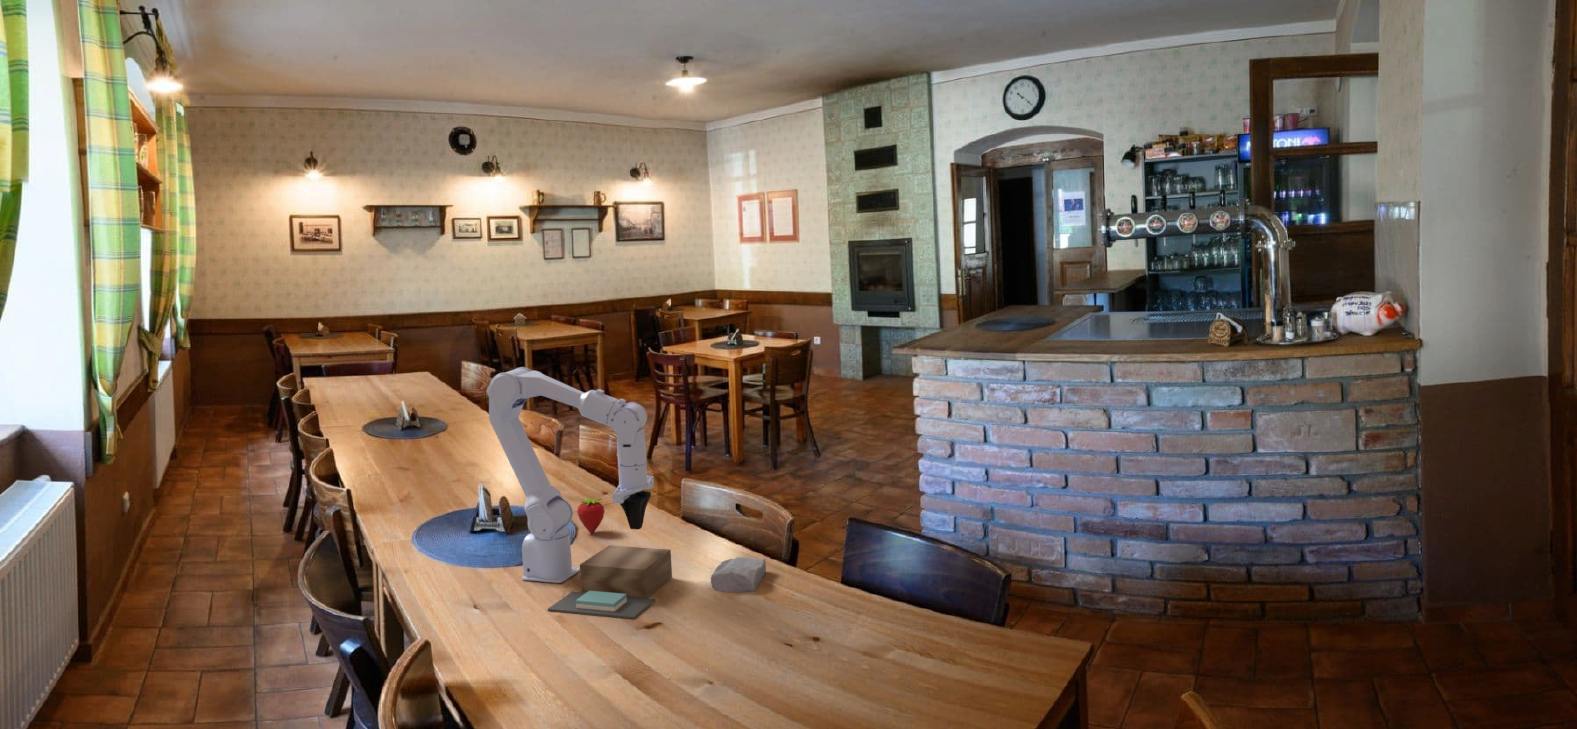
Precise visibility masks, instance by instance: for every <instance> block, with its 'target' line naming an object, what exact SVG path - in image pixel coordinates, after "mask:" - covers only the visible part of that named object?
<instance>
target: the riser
mask: <svg viewBox="0 0 1577 729" xmlns="http://www.w3.org/2000/svg"><path fill="white" fill-rule="evenodd" d="M671 550H672V549H666V548H651V547H639V546H638V547H637V546H625V545H623V546H622V545H611V544H610V545H608V546H606V547H605V548H603V549H602V550H601V549H600V551H598V552H597V553H595V554H594V555H593V556H590V557H589V558H588V559H586V560H585V561H583V562H582V563H580V564H579V568H580V571H579V574H580V576H579V577H580V589H581V591H580V592H586V593H587V592H588V591H599V592H611V593H622V594H626V595H627V596H631V597H642V598H651V596H652V595H654V594H655V593H656V592H657V591H658V590H660V589H661V588H662V587H663V586H664V585H666V584H667V583H668V582H669V581H671V579H673V572H672V571H673V570H672V569H673V568H672V552H671Z"/></svg>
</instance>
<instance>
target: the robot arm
mask: <svg viewBox="0 0 1577 729" xmlns="http://www.w3.org/2000/svg"><path fill="white" fill-rule="evenodd" d="M486 394H487V396H488V419H489V422H490V424H491V426H492V429H493V431H494V433H495V435H496V438H497V440H498V441H499V443H500V445H501V448H502V450H503V451H504V453H505V455H506V456H505V457H507V458H506V459H507V460H508V462H509V464H510V466H511V468H512V471H513V472H514V474H515V475H514V476H515V477H516V479H517V481H518V483H519V486H520V487H521V489H522V491H523V494H524V495H525V503H524V512H525V513H526V517H527V528H528V530H529V532H530V533H528V534H527V535H526V536H525V537H524V539H523V540H522V541H523V542H522V545H521V555H522V567H523V568H522V570H523V576H522V577H521V580H522V581H533V582H543V583H544V582H545V583H553V584H554V583H555V584H556V583H558V584H562V583H564V582H565V581H567V580H568V579H570V578H572V576H574V575H575V574H577V573H579V572H580V567H574V566H573V564H572V563H573V562H572V549H571V535H570V528H569V523H570V522H571V520H572V518H573V516H574V515H573V514H574V510H573V507H572V505H571V503H570V502H569V501H568V500H566V498H564V496H563V495H562V494H561V491H560V490H559V489H558V488H556V487H554V486H553V485H552V484H551V483H550V481H549V478H548V476H547V474H546V472H545V471H544V468H543V467H542V464H541V462H540V460H539V458H538V456H537V454H536V452H535V450H534V448H533V445H532V443H531V441H530V439H529V436H528V435H527V433H526V430H525V428H524V426H523V424H522V423H521V422H522V421H521V420H520V418H519V417H520V414H521V412H522V409H523V407H524V405H525V403H526V402H527V401H528V400H529V399H530V398H534V397H536V398H537V397H540V396H542V397H545V398H548V399H550V400H553V401H557V402H559V403H562V404H565V405H567V406H571V407H574V408H577V409H578V411H579V413H580V415H581V417H584V418H586V419H590V420H592V421H594V422H597V423H600V424H602V425H605V426H606V427H609V428H611V429H612V430H613V432H614V433H615V435H616V451H617V468H618V469H617V471H618V485H617V487H616V489H615V491H614V492H613V493H611V495H612V504H620V506H621V508H622V510H623V512H624V514H625V517H626V520H627V523H628V526H629V528H630V530H641V529H642V528H643V524H644V518H645V513H646V510H647V506H648V503H649V500H650V499H651V496H652V495H651V493H652V492H651V491H649V490H652V489H653V488H654V484H655V482H654V481H655V480H654V479H655V478H654V476H653V475H648V466H647V463H648V462H647V449H646V448H647V447H646V444H647V443H646V439H645V438H646V436H645V427H644V426H645V425H646V423H647V422H648V412H647V411H646V409H645V408H644V406H642V405H641V404H639V403H638V402H636V401H630V402H627V403H626V399H624V398H620V399H617V398H616V397H613V396H610V395H607V394H605V390H602V389H601V388H599V389H596V390H595V389H590V390H588V391H586V392H584V391H581V390H579V389H577V388H575V387H572V386H570V385H568V384H566V383H564V382H562V381H560V380H557V379H555V378H552V377H550V376H547V375H546V374H543V373H542V372H541V371H538V370H533V369H531V368H528V367H525V366H521V367H516V368H515V369H512V370H509V371H506V372H499V373H498V374H496V375H495V376H493V378H492V379H491V381H490V383H489V385H488V387H487V389H486ZM646 490H647V491H646Z"/></svg>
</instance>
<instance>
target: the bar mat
mask: <svg viewBox="0 0 1577 729" xmlns="http://www.w3.org/2000/svg"><path fill="white" fill-rule="evenodd" d="M585 593H586V592H581V591H574V590H572V591H571V592H570V593H568V594H566V595H565V596H563V597H562V598H561V599H559V600H558V601H556V602H555V603H554V604H553V605H551V606H549V607H548V608H547V611H548V612H554V613H556V612H557V613H566V614H577V615H589V616H595V617H596V616H598V617H607V618H617V619H618V618H619V619H628V620H629V619H630V620H636V618H637V617H638V616H639V615H640V614H642V613H643V612H644V611H645V610H647V609H648V608H649V607H650V606H651V605H653V603H655V602H656V598H651V597H649V598H642V597H631V596H627V602H626V603H624V604H623V605H622V606H621V607H619V608H618V609H617V610H616V611H603V610H593V609H582V608H576V600H577V599H578V598H580V597H581V596H582V595H584V594H585Z"/></svg>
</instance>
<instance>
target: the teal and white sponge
mask: <svg viewBox="0 0 1577 729" xmlns="http://www.w3.org/2000/svg"><path fill="white" fill-rule="evenodd" d="M626 602H627V595H626V594H622V593H611V592H599V591H588V592H587V593H585V594H584V595H582V596H581V597H580V598H578V599H577V600H576V608H582V609H593V610H603V611H616V610H617V609H618V608H619V607H621V606H622V605H623V604H624V603H626Z"/></svg>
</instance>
